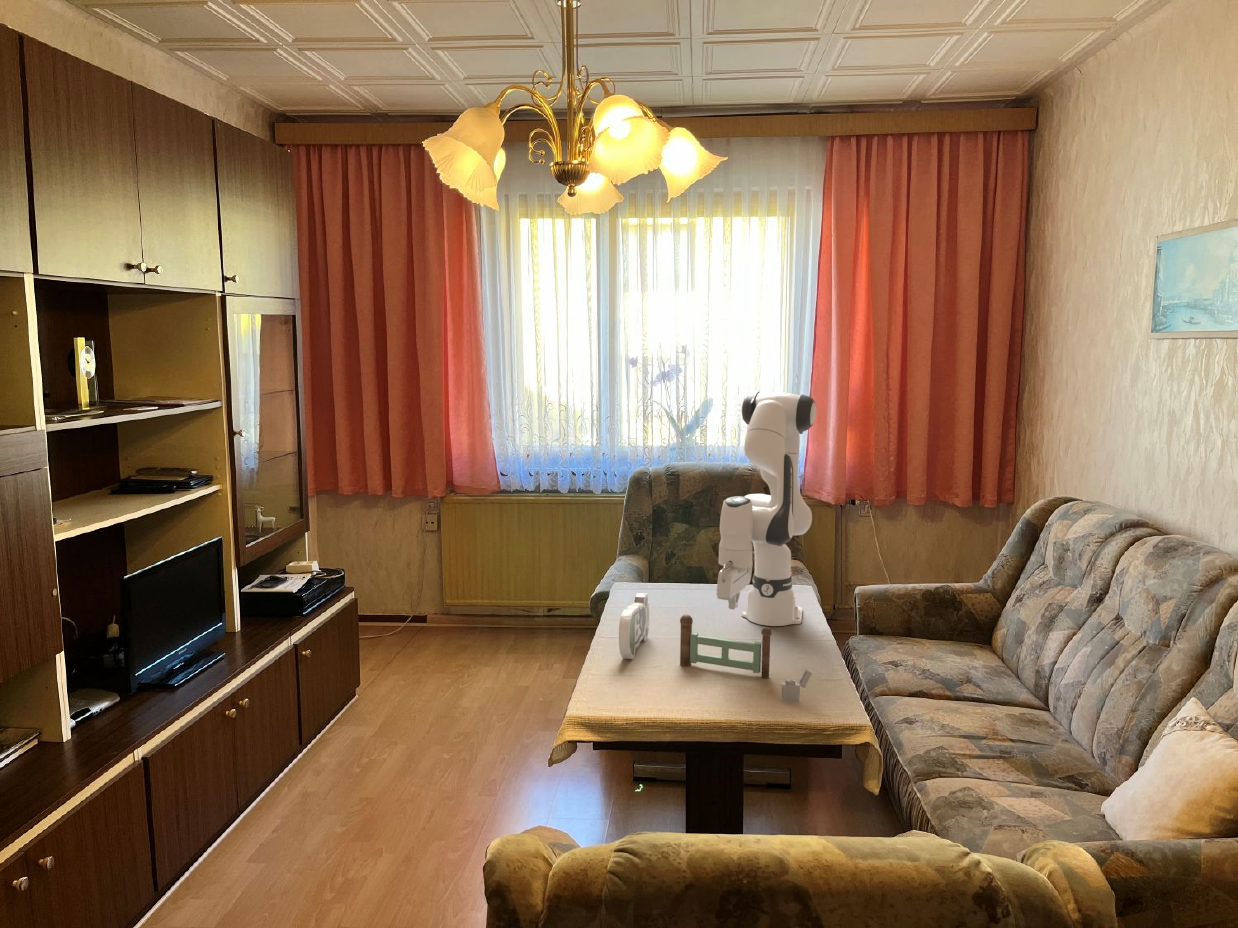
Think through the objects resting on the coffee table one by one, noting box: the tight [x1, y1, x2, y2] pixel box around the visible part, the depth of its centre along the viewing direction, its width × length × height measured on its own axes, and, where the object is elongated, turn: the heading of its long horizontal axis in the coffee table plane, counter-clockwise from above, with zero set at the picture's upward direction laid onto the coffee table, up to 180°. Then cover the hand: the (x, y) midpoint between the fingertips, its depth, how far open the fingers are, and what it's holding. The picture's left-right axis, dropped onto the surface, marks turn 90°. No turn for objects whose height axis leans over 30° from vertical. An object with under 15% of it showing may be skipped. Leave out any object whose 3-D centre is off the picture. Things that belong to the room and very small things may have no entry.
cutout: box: [618, 592, 650, 660], centre depth 262 cm, size 15×3×25 cm
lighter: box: [780, 668, 813, 703], centre depth 227 cm, size 7×2×8 cm, turn 87°
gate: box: [690, 631, 762, 675], centre depth 246 cm, size 2×19×8 cm, turn 66°
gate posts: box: [679, 614, 773, 679], centre depth 246 cm, size 3×25×14 cm, turn 66°
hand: (733, 607), depth 251 cm, fingers closed
